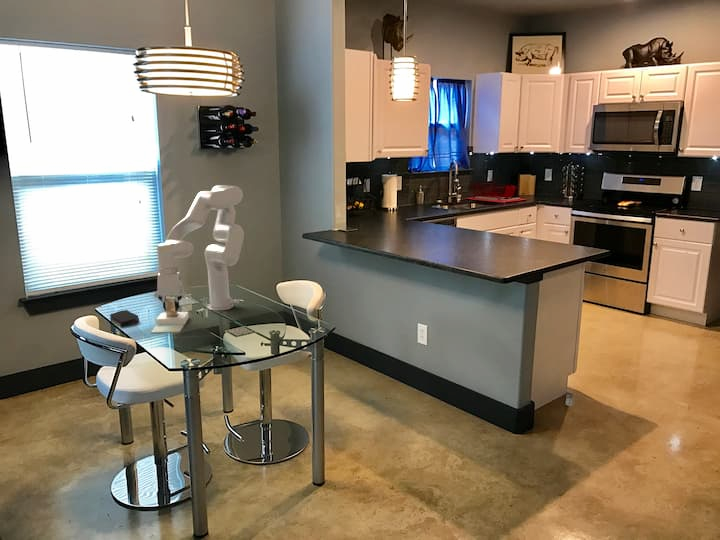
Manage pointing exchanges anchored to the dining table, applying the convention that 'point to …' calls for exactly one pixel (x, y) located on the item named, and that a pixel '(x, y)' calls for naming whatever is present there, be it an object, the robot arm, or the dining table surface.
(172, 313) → the plug
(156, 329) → the mat
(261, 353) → the dining table surface
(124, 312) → the black sponge
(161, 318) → the socket block
